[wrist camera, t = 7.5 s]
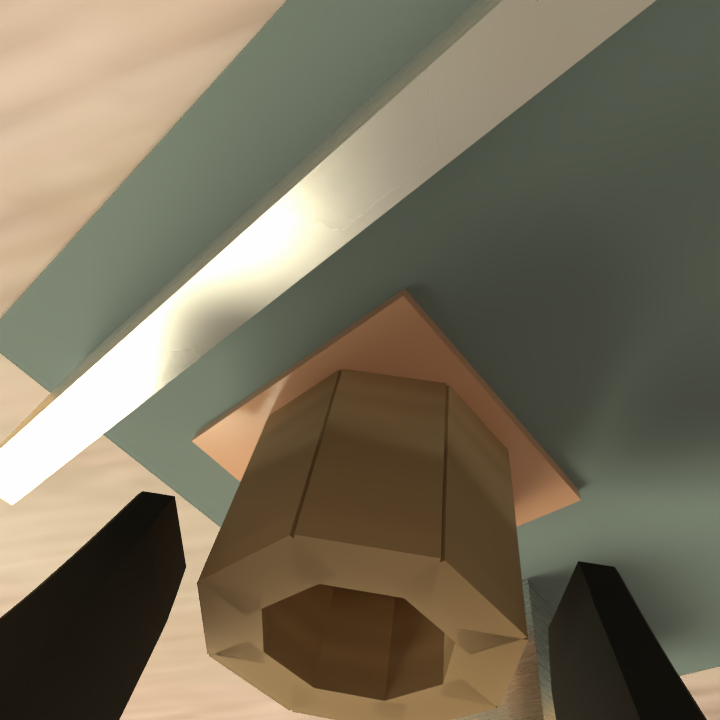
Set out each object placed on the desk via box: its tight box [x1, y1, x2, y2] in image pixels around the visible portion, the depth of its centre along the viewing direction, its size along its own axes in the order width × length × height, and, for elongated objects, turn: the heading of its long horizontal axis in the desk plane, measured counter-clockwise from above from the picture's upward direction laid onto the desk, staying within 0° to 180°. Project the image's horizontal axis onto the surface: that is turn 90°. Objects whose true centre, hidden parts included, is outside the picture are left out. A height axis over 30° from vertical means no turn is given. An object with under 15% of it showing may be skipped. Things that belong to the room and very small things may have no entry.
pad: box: [192, 288, 581, 527], centre depth 13 cm, size 6×6×1 cm
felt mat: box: [0, 0, 720, 676], centre depth 12 cm, size 18×18×1 cm
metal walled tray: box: [0, 0, 656, 720], centre depth 10 cm, size 15×15×4 cm
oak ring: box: [197, 369, 528, 720], centre depth 11 cm, size 5×5×4 cm
